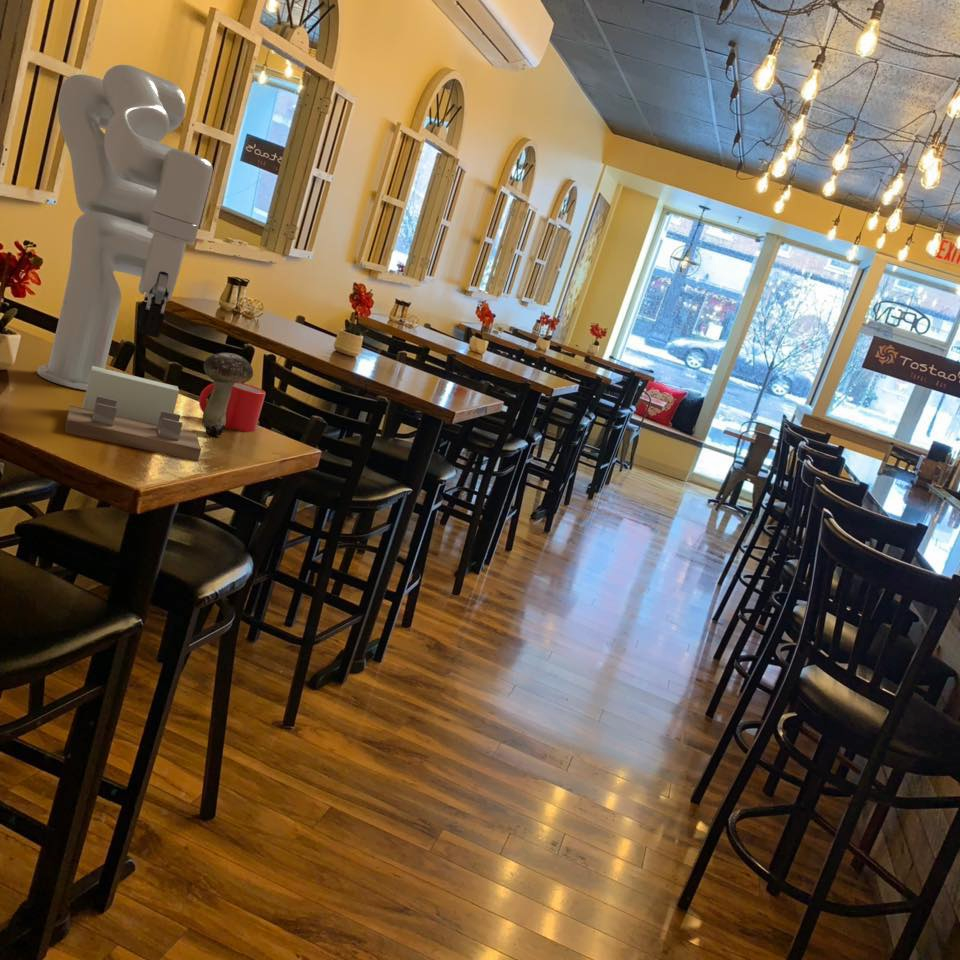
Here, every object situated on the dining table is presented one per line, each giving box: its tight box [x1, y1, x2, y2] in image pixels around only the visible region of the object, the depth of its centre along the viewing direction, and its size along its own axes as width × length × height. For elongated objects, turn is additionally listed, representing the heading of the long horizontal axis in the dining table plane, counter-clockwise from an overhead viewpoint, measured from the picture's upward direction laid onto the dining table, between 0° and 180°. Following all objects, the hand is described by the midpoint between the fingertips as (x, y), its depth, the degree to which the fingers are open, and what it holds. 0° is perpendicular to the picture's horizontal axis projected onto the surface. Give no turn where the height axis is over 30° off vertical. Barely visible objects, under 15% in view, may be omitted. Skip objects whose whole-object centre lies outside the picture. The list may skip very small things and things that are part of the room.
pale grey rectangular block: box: [81, 366, 180, 425], centre depth 158 cm, size 4×14×8 cm, turn 111°
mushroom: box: [202, 352, 254, 436], centre depth 168 cm, size 9×9×15 cm
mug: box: [198, 382, 266, 433], centre depth 182 cm, size 8×12×8 cm, turn 119°
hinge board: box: [64, 396, 202, 462], centre depth 149 cm, size 10×20×5 cm, turn 111°
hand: (147, 330), depth 155 cm, fingers open, 9 cm apart
